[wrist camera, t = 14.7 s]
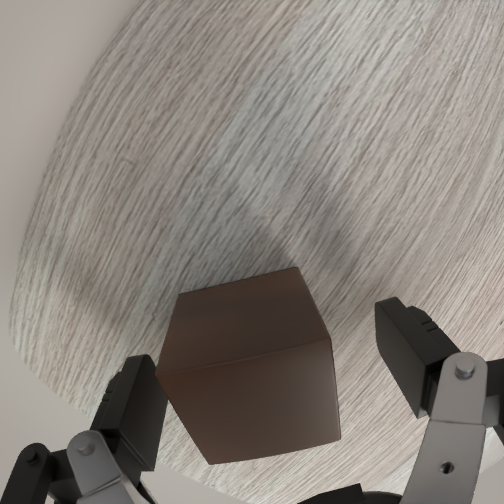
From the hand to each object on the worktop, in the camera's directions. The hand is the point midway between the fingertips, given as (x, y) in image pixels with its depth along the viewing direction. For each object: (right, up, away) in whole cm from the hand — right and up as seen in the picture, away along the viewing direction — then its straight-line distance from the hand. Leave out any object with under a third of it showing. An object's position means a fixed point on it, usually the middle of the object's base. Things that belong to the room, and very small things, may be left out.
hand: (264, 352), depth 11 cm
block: (0, 0, +2) cm, 2 cm away
